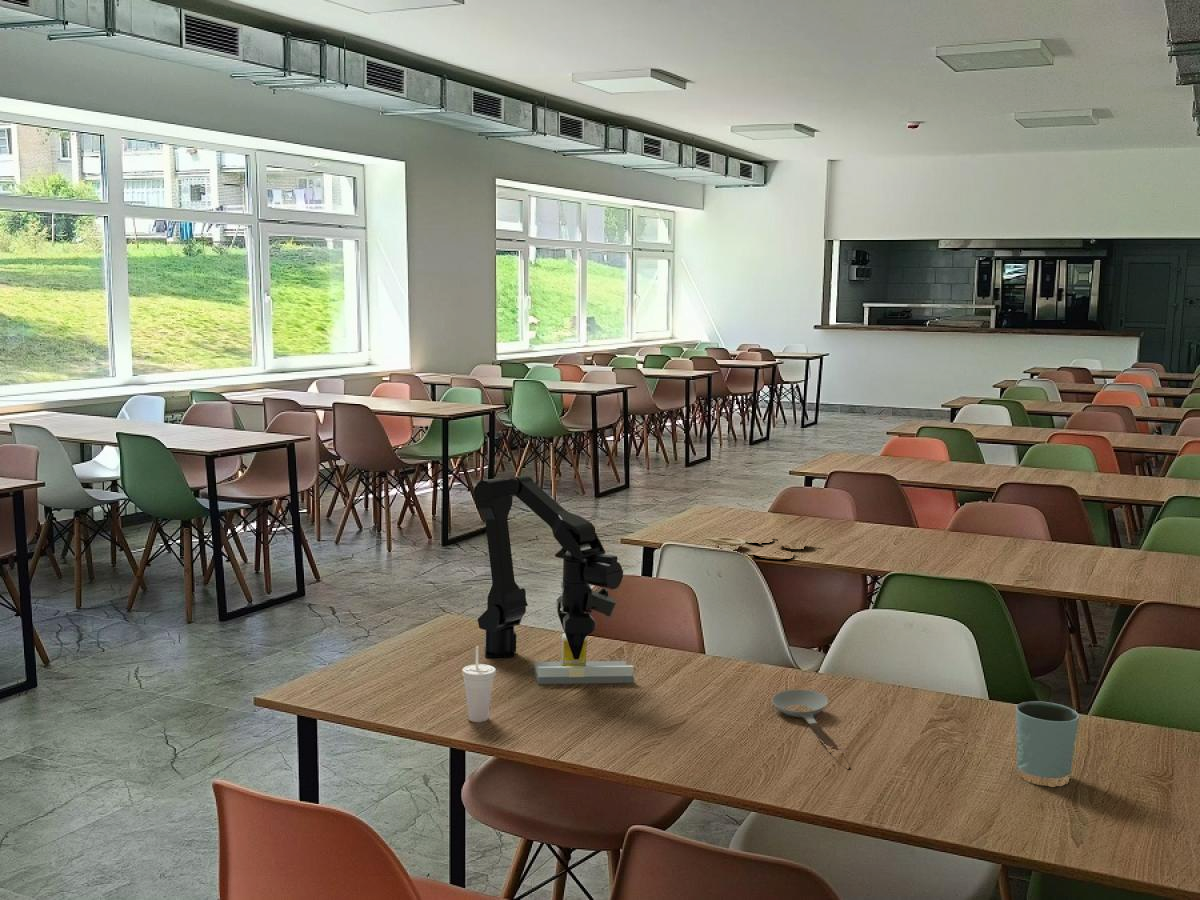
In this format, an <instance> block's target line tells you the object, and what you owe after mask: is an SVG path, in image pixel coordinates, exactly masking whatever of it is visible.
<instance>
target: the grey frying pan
mask: <svg viewBox="0 0 1200 900" xmlns="http://www.w3.org/2000/svg"><path fill="white" fill-rule="evenodd" d="M771 702H772V704H773V705H774V707H776V709H777V710H779V711H780V712H782V713H783V714H785V715H787V716H790V715H791V716H790V717H793V716H796V717H795V718H803V719H804V720H805V722H806V723H807V724H808V725H809V726H810V727H811V728H812V730H813V731H814V732H816V733H815V735H816V736H817V735H818V736H817V738H818V737H819V738H820V739H821V740H822V741H823V742H824V744H826V745H828V746H830V747H831V746H833V747H832V748H831V749H836V750H839V749H840V748H839V746H838V744H836V742H835V741H834V740H833V739H832V738H831V737H830V736H829V735H828V733H826V732H825V731H824V730H823V728H822V727H821V726H820V724H819V723H818V722H817V720H816V719H815V718H814V716H815V715H816V714H818V713H820V712H821V711H823V710H824V709H825V708H826V707H827V706H828V704H829V699H828V697H827V696H826V695H825V694H823V693H821V692H818V691H815V690H809V689H803V688H802V689H799V688H798V689H797V688H796V689H787V690H782V691H780V692H778V693H776V694H774V695H773V696H772V698H771ZM791 705H802V706H807V707H808V708H811V709H813V711H804V712H799V711H790V710H785V709H784V708H785V707H787V706H791ZM819 738H818V739H819ZM837 747H838V748H839V749H838V748H837Z"/></svg>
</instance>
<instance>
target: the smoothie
mask: <svg viewBox="0 0 1200 900" xmlns="http://www.w3.org/2000/svg"><path fill="white" fill-rule="evenodd" d="M479 647H480V646H479V645H476V646H475V664H469V665H466V666H464V667H463V668H462V669H461V670H462V673H461V675H462V676H463V681H464V690H465V691H464V693H465V701H466V711H467V718H468V721H470V722H473V723H482V722H486V721H487V720H488V719H489V714H490V706H491V699H492V692H493V687H494V686H493V685H494V678H495V676H497V673H496V672H497V670H496V668H495V667H494V666H492V665H490V664H484V663H479V658H480V657H479V653H480V650H479V649H480V648H479Z"/></svg>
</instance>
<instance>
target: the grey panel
mask: <svg viewBox="0 0 1200 900" xmlns="http://www.w3.org/2000/svg"><path fill="white" fill-rule="evenodd" d="M533 665H534V666H533V671H534V673H535V678H536V682H537V684H538V685H566V684H567V685H573V684H574V685H575V684H579V685H580V684H582V685H583V684H631V683H632V684H633V683H634V665H628V662H627V661H626V660H608V661H607V660H603V661H602V660H601V661H599V660H595V661H593V660H591V661H587V660H586V666H561V661H534V664H533Z"/></svg>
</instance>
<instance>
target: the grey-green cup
mask: <svg viewBox="0 0 1200 900" xmlns="http://www.w3.org/2000/svg"><path fill="white" fill-rule="evenodd" d="M1015 722H1016V723H1015V724H1016V725H1015V726H1016V734H1017V736H1016V751H1017V757H1016V766H1017V765H1018V768H1019V769H1020V770H1022V771H1023V772H1025V773H1028V774H1031V775H1035V776H1040V777H1046V778H1062V777H1065V776H1067V775H1070V773H1071V774H1072V765H1073V763H1072V762H1073V760H1074V752H1075V748H1076V747H1075V746H1074V744H1075V742H1076V739H1077V734H1078V728H1079V723H1080V714H1079V713H1078V711H1076V710H1075V709H1074V708H1071V707H1069V706H1066V705H1063V704H1058V703H1055V702H1049V701H1048V702H1047V701H1038V700H1033V701H1032V700H1031V701H1023V702H1021V703H1018V704H1017V705H1016V706H1015ZM1070 776H1071V775H1070Z"/></svg>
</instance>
